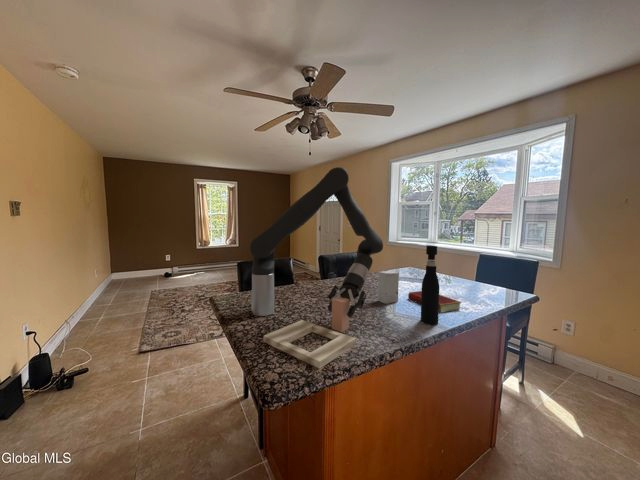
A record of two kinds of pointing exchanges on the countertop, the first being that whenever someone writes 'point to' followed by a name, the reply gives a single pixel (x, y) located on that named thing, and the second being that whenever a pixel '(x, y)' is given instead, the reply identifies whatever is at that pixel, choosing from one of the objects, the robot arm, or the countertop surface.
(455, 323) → the countertop surface
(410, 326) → the countertop surface
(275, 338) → the beige lopsided picture frame
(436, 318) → the wine bottle
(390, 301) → the skincare box
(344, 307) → the tall salmon pink block
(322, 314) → the countertop surface
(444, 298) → the hardcover book
